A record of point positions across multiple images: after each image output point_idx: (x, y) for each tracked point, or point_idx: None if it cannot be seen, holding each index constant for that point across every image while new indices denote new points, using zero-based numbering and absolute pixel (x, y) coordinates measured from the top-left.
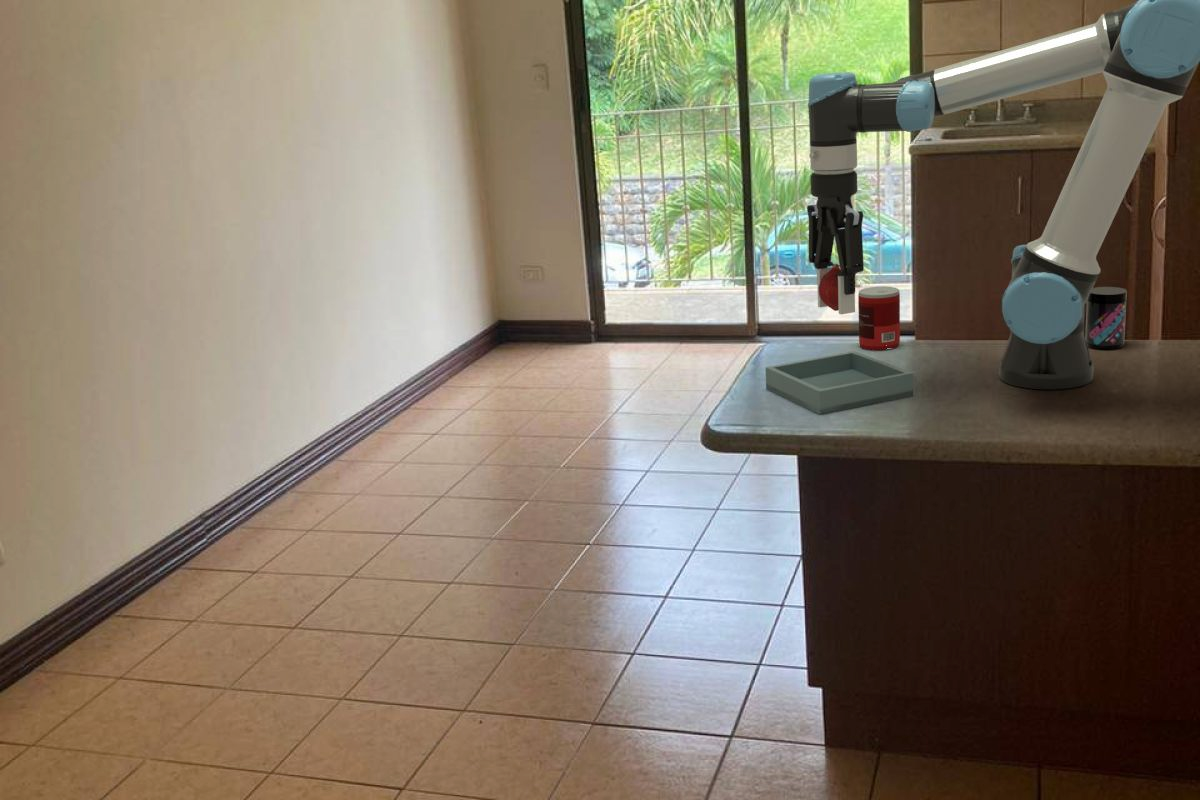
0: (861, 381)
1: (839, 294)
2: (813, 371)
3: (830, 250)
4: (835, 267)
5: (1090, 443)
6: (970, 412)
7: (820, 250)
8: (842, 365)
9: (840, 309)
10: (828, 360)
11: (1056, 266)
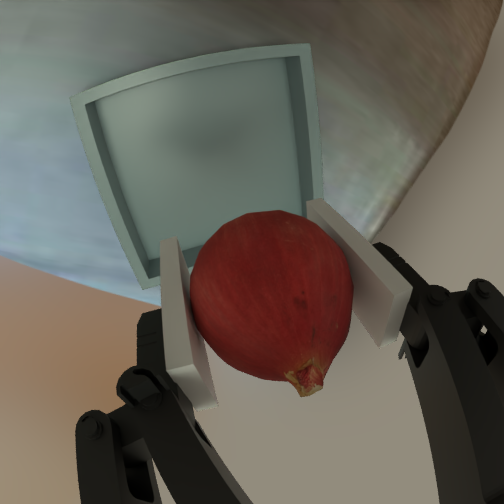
0: (312, 155)
1: None
2: (119, 191)
3: (224, 479)
4: (323, 377)
5: (487, 28)
6: (393, 31)
7: (246, 496)
8: (97, 125)
9: None
10: (104, 162)
11: None
